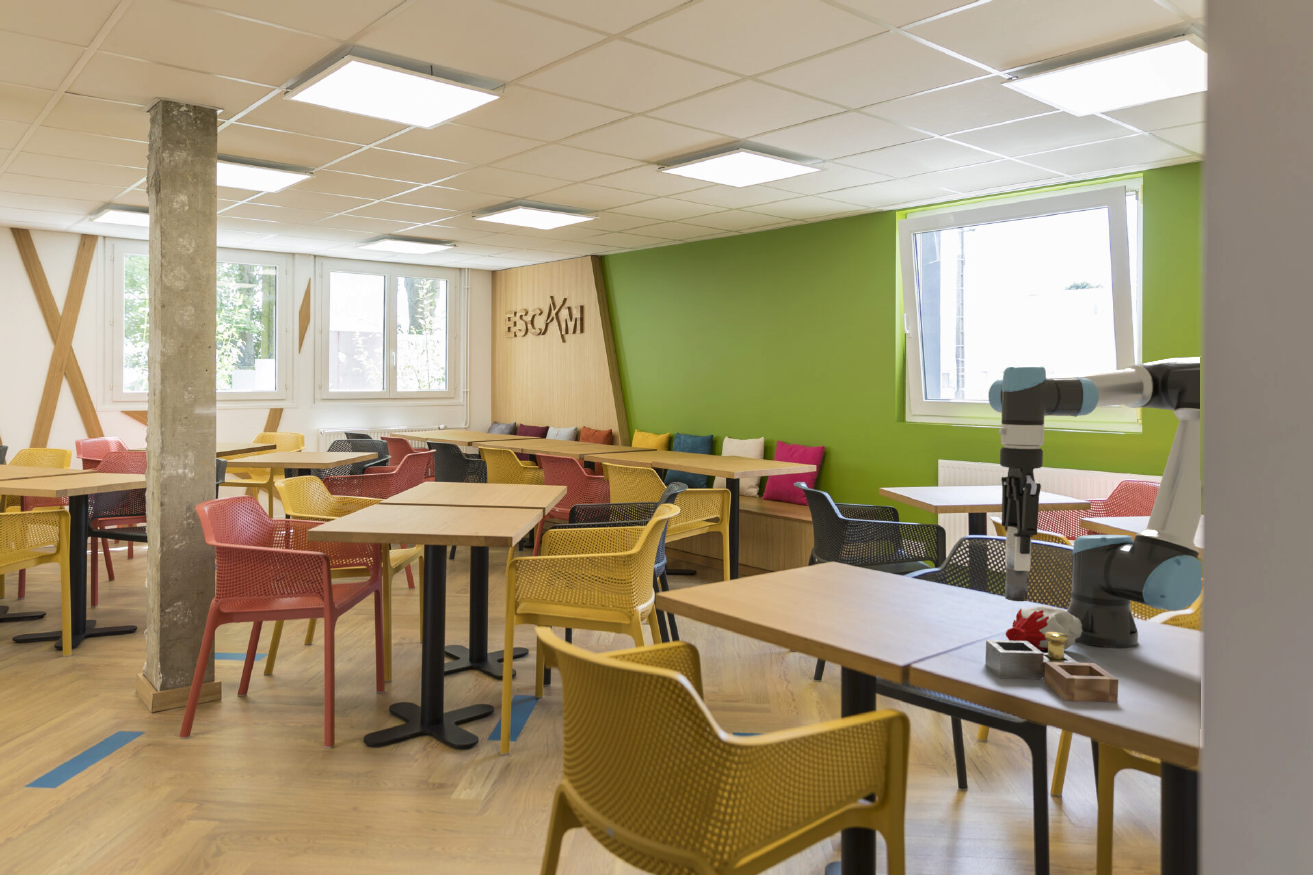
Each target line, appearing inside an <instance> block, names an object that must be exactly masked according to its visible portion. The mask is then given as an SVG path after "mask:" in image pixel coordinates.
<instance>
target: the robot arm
mask: <svg viewBox="0 0 1313 875" xmlns="http://www.w3.org/2000/svg"><path fill="white" fill-rule="evenodd" d="M1200 357H1201V356H1191V357H1190V356H1189V357H1188V356H1187V357H1186V356H1185V357H1184V356H1182V357H1172V358H1165V359H1160V360H1156V361H1155V360H1154V361H1151V362H1150V361H1149V362H1144V363H1137V364H1128V365H1126V366H1123V368H1122V369H1117V370H1106V371H1090V372H1089V371H1088V372H1079V373H1078V372H1076V373H1068V374H1067V373H1066V374H1065V373H1063V374H1051V375H1050V374H1049V375H1047V374H1046V373H1047V372H1046V368H1045V366H1038V365H1037V366H1036V365H1033V366H1032V365H1018V366H1017V365H1015V366H1014V365H1012V366H1008V367H1006V368H1005V369H1004V371H1003V376H1002V378H999V379H997V380H995V381H994V382H993V383H992V384H991V385H990V387H989V389H988V402H989V405H990V406H991V408H992V409H993V410H994V411H995V412H996V413H1000V414H1001V429H999V430H998V434H999V435H1000V444H1001V445H1003V447H1001V448H1000V452H999V464H1000V466H1001V467H1003V468H1007V469H1008V472H1007V476H1001V480H1000V481H1001V490H1002V491H1001V492H1002V493H1001V496H1002V497H1001V526H1002V527H1004V530H1005V554H1004V555H1005V558H1004V560H1005V562H1004V564H1005V566H1006V558H1007V529H1008V526H1012V525H1016V526H1017V528H1018V533H1015V534H1014V536H1015V562H1014V570H1016V571H1029V572H1030V571H1031V560H1032V559H1031V558H1032V538H1033V536H1037V535H1038V522H1039V505H1040V504H1039V503H1040V493H1041V488H1042V485H1041V483H1037V482H1035V480H1036V479H1035V474H1034V470H1035V469H1041V468H1042V467H1043V462H1044V460H1043V459H1044V457H1043V456H1044V450H1043V449H1042V448H1041V447H1042V446H1043V445H1044V442H1045V440H1044V439H1045V417H1047V416H1050V417H1051V416H1053V417H1056V416H1057V417H1058V416H1059V417H1078V416H1087V415H1089V414H1091V413H1092V412H1093V411H1095V409H1096V408H1097V407H1098V408H1099V407H1109V406H1110V407H1111V406H1121V405H1122V406H1123V405H1124V406H1126V407H1128V408H1131V409H1137V408H1138V409H1139V408H1149V409H1159V410H1160V409H1161V410H1169V411H1173V414H1174V416H1175V417H1176V418H1177V420H1178V424H1177V425H1178V426H1177V429H1176V432H1175V435H1174V439H1173V442H1172V444H1171V448H1170V450H1169V454H1168V458H1167V460H1166V464H1165V468H1164V471H1163V474H1162V477H1161V480H1160V484H1159V486H1158V487H1159V488H1158V490H1157V492H1156V496H1155V501H1154V503H1153V507H1152V510H1151V513H1150V517H1149V519H1148V523H1147V526H1146V528H1145V529H1144V530H1142V531H1140V532H1138V533H1136V534H1135V535H1134V536H1135V537H1134V539H1133V537H1132V536H1131V535H1124V534H1090V535H1089V534H1085V535H1080V536H1077V537H1076V538H1075V539H1074V541H1073V548H1072V549H1073V550H1072V553H1071V555H1072V556H1071V558H1072V559H1071V562H1072V563H1071V566H1072V567H1071V597H1070V603H1069V605H1068V607H1067V610H1066V611H1067V612H1068V613H1070V614H1071V615H1073V616H1075V617H1076V618H1079V620H1080V621H1081V624H1082V632H1081V636H1080V637H1079V638H1076V639H1075V642H1076V643H1077V642H1078V643H1080V644H1085V645H1090V646H1096V647H1097V646H1098V647H1102V648H1103V647H1105V648H1130V647H1135V646H1137V645H1138V644H1139V631H1138V628H1137V626H1136V625H1137V624H1136V622H1135V619H1134V615H1133V612H1132V608H1131V601H1132V602H1134V603H1138V604H1143V605H1145V606H1148V607H1151V608H1154V609H1157V610H1164V611H1170V612H1171V611H1172V612H1177V611H1182V610H1185V609H1186V608H1187V607H1190V606H1192V605H1193V604H1194V603H1195V602H1196V601H1197V600H1198V599H1199V597H1201V594H1202V592H1201V563H1202V562H1201V560H1199V559H1198V558H1199V554H1200V551H1199V549H1198V548H1197V546H1196V545H1195V543H1194V541H1195V536H1196V533H1197V530H1198V527H1199V524H1200V521H1201V518H1202V515H1201V479H1200Z"/></svg>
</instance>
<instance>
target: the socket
mask: <svg viewBox="0 0 1313 875" xmlns="http://www.w3.org/2000/svg"><path fill="white" fill-rule="evenodd" d="M1045 662H1068V663H1079V662H1078V661H1076V660H1075V659H1073V658H1072V657H1070V656H1069V654H1066V653H1065V652H1064V661H1059V660H1050V659H1048V652H1042V651H1041V650H1039V649H1037V648H1036V647H1034V646H1033V645H1032V644H1030V643H1029V642H1028V641H1009V640H1006V639H1005V640H1002V639H1001V640H998V639H986V640H985V664H984V665H985V666H986V667H987V668H988V669H989V670H991V672H993V673H994V674H995V675H996V676H997V677H998V678H999V679H1008V680H1009V679H1010V680H1011V679H1012V680H1013V679H1014V680H1017V679H1018V680H1043V679H1045Z"/></svg>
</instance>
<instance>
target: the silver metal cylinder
mask: <svg viewBox="0 0 1313 875" xmlns="http://www.w3.org/2000/svg"><path fill="white" fill-rule="evenodd" d="M1006 532H1007V558H1006V565H1005V566H1006V567H1005V591H1004V592H1005V596H1004V597H1005V598H1004V599H1006V600H1008V601H1013V602H1028V601H1029V598H1028V596H1029V594H1028V593H1029V572H1030V571H1016V570H1014V562H1015V536H1014V534H1015V533H1018V528H1017V526H1016V525H1012V526H1008V529H1007V531H1006Z"/></svg>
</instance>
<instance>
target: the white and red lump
mask: <svg viewBox="0 0 1313 875" xmlns="http://www.w3.org/2000/svg"><path fill="white" fill-rule="evenodd" d="M1015 617H1016V618H1015V619H1013V622H1012V625H1011V628H1009V629H1007V630H1006V631H1005V636H1006V638H1007V639H1008V641H1028V642H1029V643H1030V644H1032V645H1033V646H1034V647H1036V648H1037V649H1038V650H1040V651H1041V650H1042V651H1046V650H1048V640H1046V639H1045V633H1046V632H1059V633H1063V634H1066V635H1068V642H1066V643H1064V650H1067V649H1069V648H1071V647H1072V646H1073V645H1074V644H1075V642H1076V641H1075V639H1076V638H1079V637H1080V636H1081V632H1082V624H1081V621H1080V620H1079V618H1076V617H1075V616H1073V615H1071V614H1070V613H1068V612H1067V610H1066V609H1062V608H1054V607H1052V606H1049V605H1039V606H1032V607H1028V608H1024V609H1022V608H1020V609H1019V610H1018V612H1017V613H1016V616H1015Z"/></svg>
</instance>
